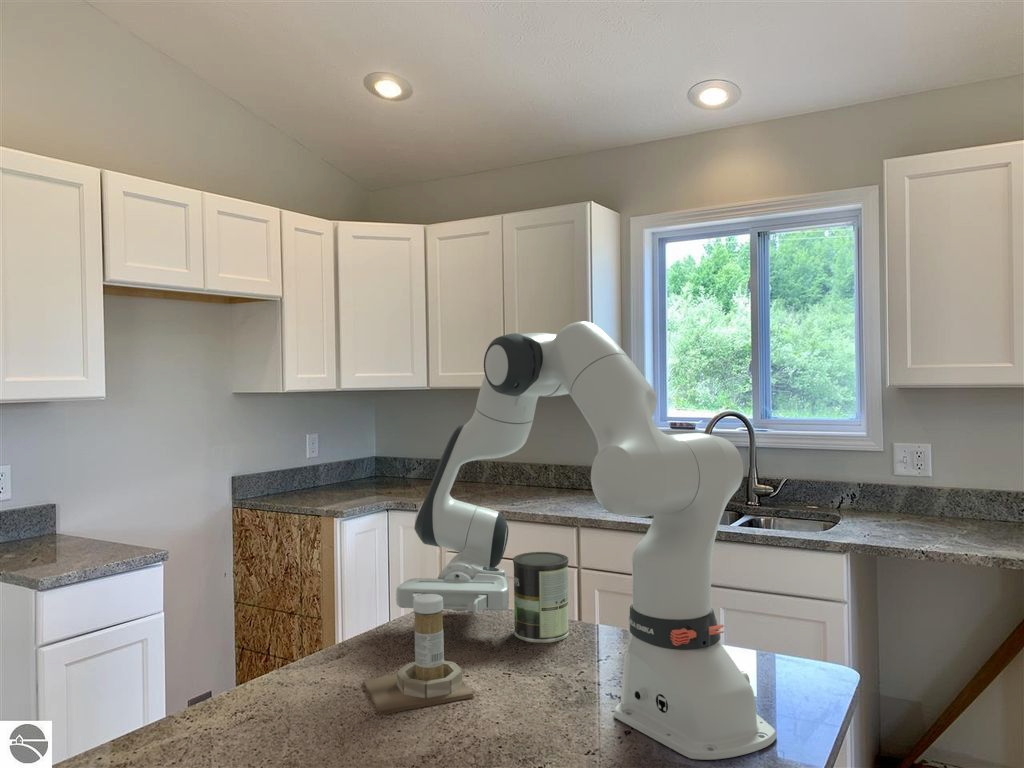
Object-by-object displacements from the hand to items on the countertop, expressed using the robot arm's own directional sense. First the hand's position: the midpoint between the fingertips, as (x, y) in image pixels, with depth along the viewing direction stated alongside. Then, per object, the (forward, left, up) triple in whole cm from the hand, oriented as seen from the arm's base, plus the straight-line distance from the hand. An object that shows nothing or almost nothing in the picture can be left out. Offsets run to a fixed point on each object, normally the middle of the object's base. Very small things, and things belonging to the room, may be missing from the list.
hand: (444, 607), depth 127 cm
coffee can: (+5, -20, -9) cm, 22 cm away
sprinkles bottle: (-10, +6, -8) cm, 15 cm away
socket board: (-10, +8, -9) cm, 16 cm away
